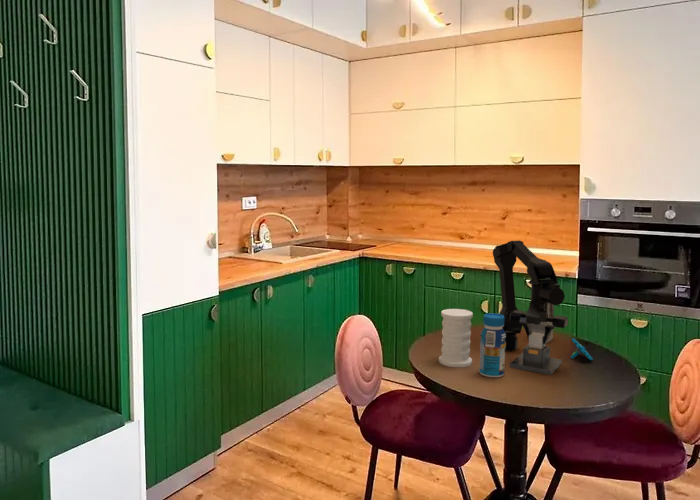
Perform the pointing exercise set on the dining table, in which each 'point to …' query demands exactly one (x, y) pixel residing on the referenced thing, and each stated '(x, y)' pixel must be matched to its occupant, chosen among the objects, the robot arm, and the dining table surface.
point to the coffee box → (545, 323)
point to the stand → (536, 361)
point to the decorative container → (456, 338)
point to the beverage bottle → (492, 346)
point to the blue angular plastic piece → (580, 350)
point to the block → (536, 341)
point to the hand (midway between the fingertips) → (537, 342)
